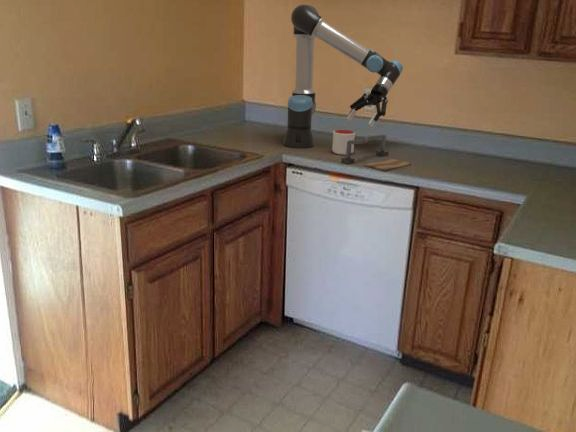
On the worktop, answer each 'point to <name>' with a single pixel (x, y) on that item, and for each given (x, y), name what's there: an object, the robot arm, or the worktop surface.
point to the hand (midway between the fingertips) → (358, 123)
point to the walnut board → (387, 164)
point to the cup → (342, 141)
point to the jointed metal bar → (380, 152)
